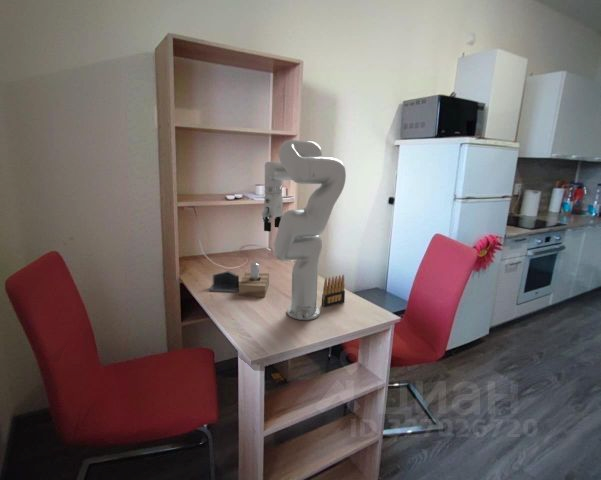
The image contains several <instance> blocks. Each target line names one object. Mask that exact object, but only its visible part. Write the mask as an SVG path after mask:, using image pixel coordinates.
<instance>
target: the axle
mask: <svg viewBox="0 0 601 480" xmlns="http://www.w3.org/2000/svg"><path fill="white" fill-rule="evenodd" d="M259 263H260V262H251V263H250V273H251V281H259V273H260V264H259Z"/></svg>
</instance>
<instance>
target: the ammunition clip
mask: <svg viewBox="0 0 601 480" xmlns="http://www.w3.org/2000/svg"><path fill="white" fill-rule="evenodd" d="M334 277H335V278H334ZM322 292H323V293H322V296H321V297H322V298H321V305H320V306H321V307H324V308H327V307H331V306H334V305H338V304H342V303H343V304H344V303H345V301H346V300H345V299H346V297H345V296H346V295H345V293H346V292H345V275H344V274H342V276H341V274H340V275H339V276H337V275H336V276H332V277H330V276H329V277H328V278H327V277H325V278H324V284H323V290H322Z"/></svg>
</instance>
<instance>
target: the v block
mask: <svg viewBox="0 0 601 480" xmlns="http://www.w3.org/2000/svg"><path fill="white" fill-rule="evenodd" d="M239 278H240V277H239V274H236V273H234V272H231V271H230V270H228V271H227V270H226V271H223V272H218V273H214V274H212V286H211V287H210V288H209V292H219V293H222V292H223V293H239V284H240V282H241V281H240V279H239Z"/></svg>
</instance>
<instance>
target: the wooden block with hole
mask: <svg viewBox="0 0 601 480" xmlns="http://www.w3.org/2000/svg"><path fill="white" fill-rule="evenodd" d="M239 282H240V284H239V290H238V296H239V297H255V298H266V294H267V292H268V288H269V286H270V273H269V272H268V273H266V272H265V273H264V272H259V281H251V272H244V275H243V277H242V278H241V280H240V281H239Z"/></svg>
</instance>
